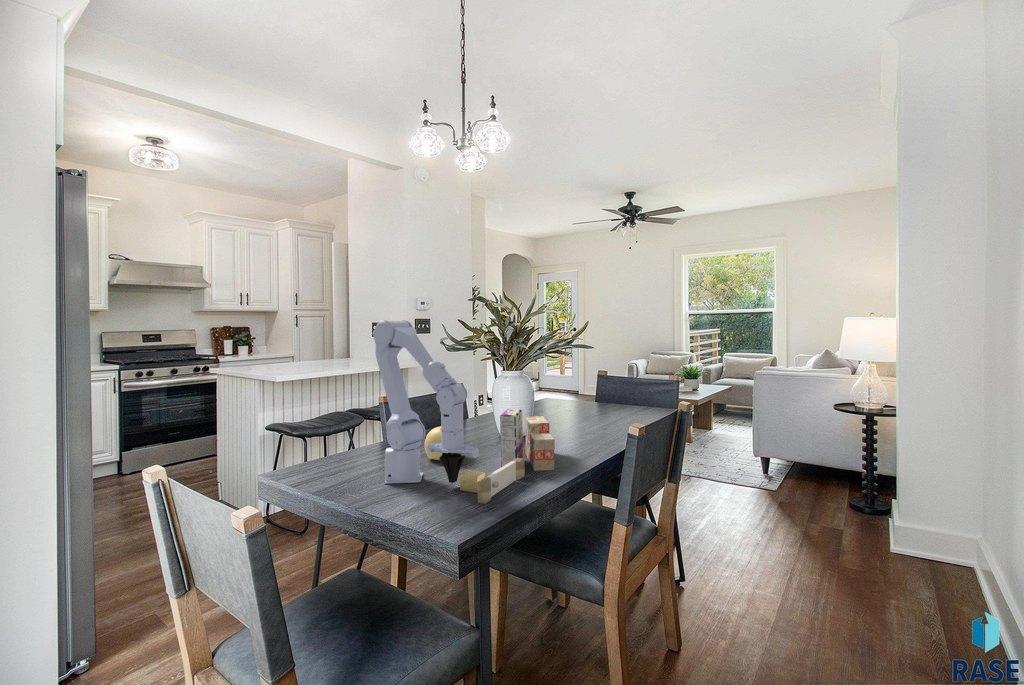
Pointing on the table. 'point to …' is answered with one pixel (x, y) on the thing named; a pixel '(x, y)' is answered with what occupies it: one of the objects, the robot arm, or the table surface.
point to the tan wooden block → (470, 481)
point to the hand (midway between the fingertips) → (453, 481)
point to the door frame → (485, 484)
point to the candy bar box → (511, 435)
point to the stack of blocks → (539, 443)
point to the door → (502, 477)
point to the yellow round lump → (433, 442)
